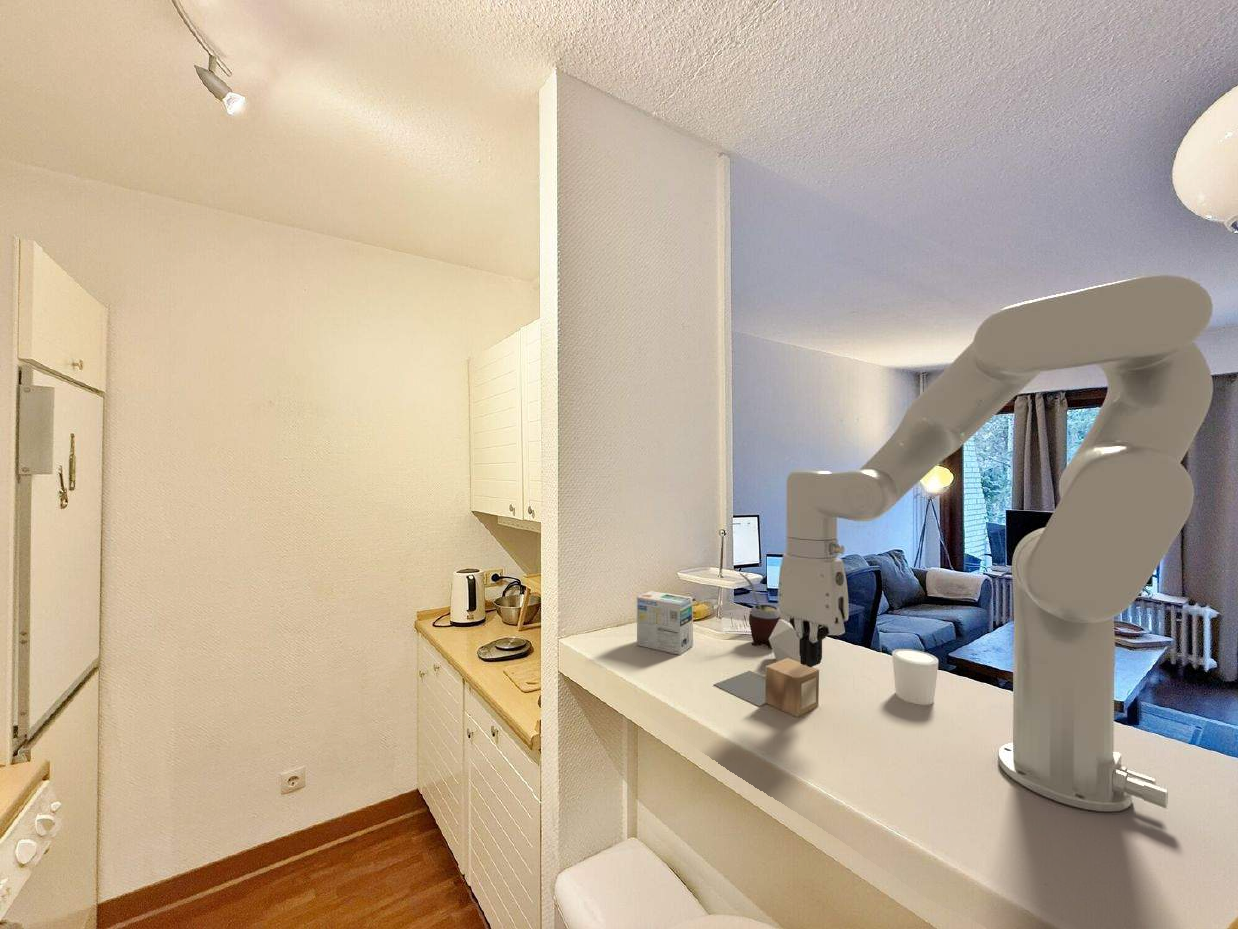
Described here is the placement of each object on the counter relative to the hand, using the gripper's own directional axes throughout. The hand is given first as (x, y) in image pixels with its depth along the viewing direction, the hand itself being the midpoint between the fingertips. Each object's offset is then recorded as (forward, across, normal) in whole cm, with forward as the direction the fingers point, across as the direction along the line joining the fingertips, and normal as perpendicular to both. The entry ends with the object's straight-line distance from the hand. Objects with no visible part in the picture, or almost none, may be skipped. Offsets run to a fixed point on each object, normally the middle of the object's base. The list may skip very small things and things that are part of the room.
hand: (810, 663), depth 80 cm
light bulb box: (+8, +36, -1) cm, 36 cm away
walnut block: (+5, 0, 0) cm, 5 cm away
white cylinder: (+8, -8, -19) cm, 22 cm away
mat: (+8, +11, 0) cm, 13 cm away
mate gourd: (+8, +24, -19) cm, 31 cm away
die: (+8, +14, -15) cm, 22 cm away
